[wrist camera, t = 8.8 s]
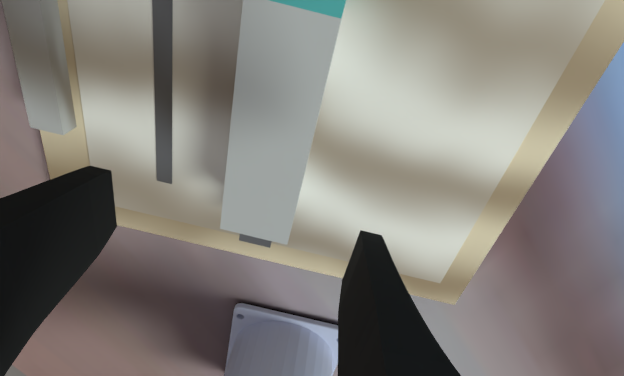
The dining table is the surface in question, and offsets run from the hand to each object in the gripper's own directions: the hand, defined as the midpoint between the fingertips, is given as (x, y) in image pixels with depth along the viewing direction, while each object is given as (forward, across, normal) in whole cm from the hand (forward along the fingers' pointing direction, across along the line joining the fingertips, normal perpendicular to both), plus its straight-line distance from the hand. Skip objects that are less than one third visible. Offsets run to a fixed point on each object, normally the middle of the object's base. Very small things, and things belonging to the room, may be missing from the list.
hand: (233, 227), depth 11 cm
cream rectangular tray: (+9, 0, 0) cm, 9 cm away
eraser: (+8, 0, 0) cm, 8 cm away
